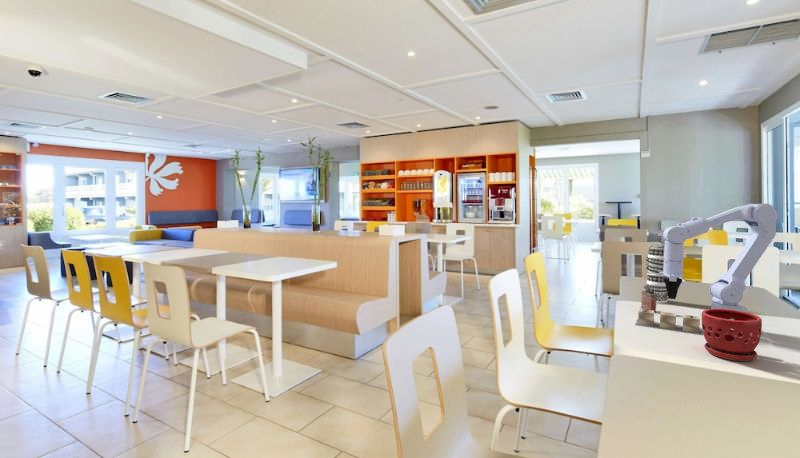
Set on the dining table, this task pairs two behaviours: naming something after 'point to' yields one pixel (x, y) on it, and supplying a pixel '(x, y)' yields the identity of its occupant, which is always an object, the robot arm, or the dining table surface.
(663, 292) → the decorative candle
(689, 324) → the block one
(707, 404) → the dining table surface
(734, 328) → the plant pot
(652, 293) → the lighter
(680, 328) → the felt strip
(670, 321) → the plain block
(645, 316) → the block seven
